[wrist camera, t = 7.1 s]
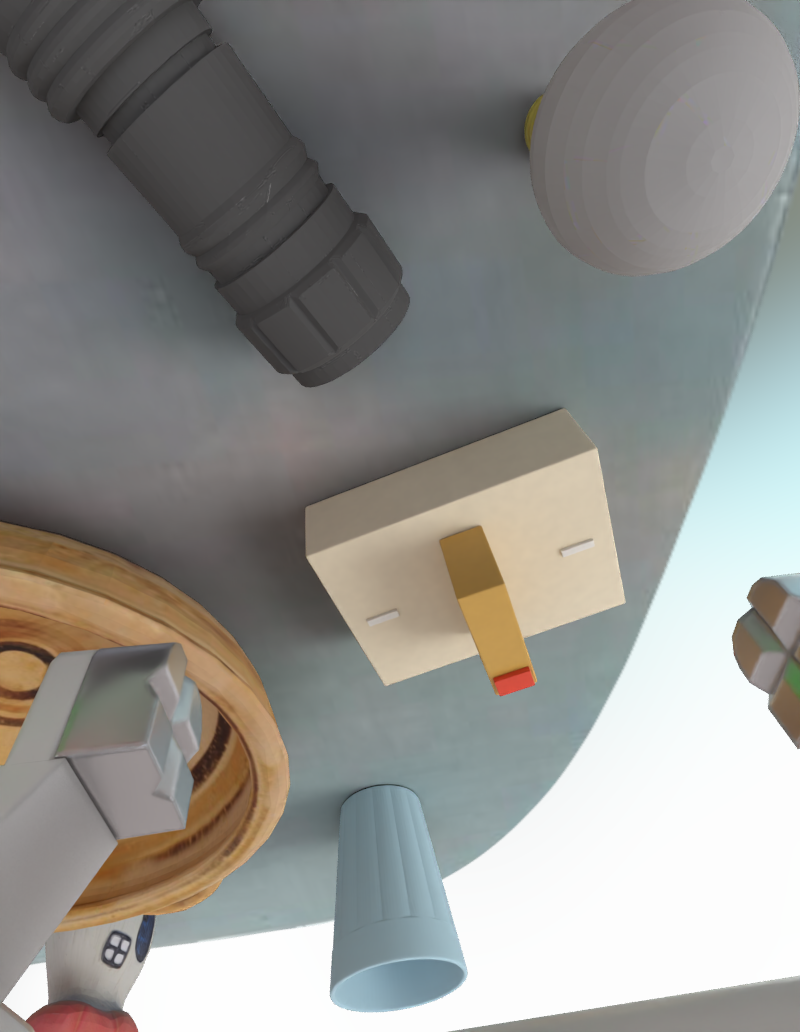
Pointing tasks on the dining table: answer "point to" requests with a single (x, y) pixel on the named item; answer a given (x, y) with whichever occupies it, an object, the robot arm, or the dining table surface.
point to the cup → (390, 908)
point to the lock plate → (454, 509)
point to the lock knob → (488, 610)
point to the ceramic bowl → (211, 664)
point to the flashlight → (216, 173)
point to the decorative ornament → (93, 976)
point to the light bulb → (663, 133)
